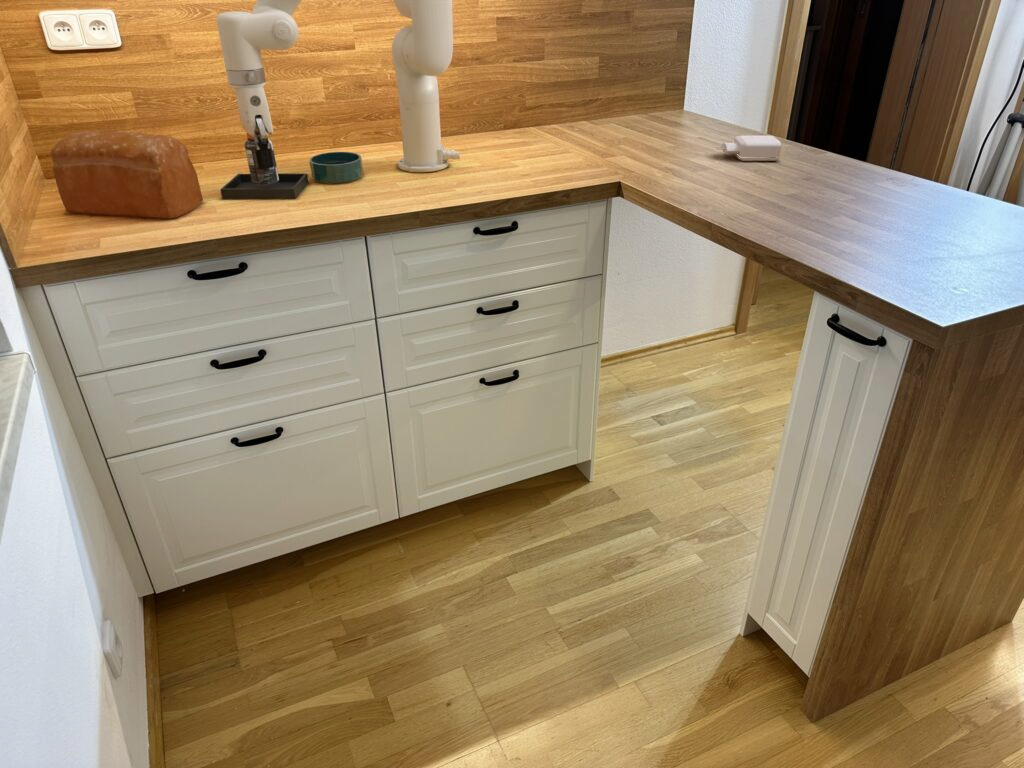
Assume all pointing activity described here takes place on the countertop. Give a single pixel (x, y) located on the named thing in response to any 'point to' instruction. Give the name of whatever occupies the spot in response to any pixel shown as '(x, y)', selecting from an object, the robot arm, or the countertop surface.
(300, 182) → the tray
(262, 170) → the pill bottle
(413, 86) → the robot arm
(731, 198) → the countertop surface
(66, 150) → the bread
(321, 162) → the bowl
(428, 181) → the countertop surface
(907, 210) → the countertop surface
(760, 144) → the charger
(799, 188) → the countertop surface
